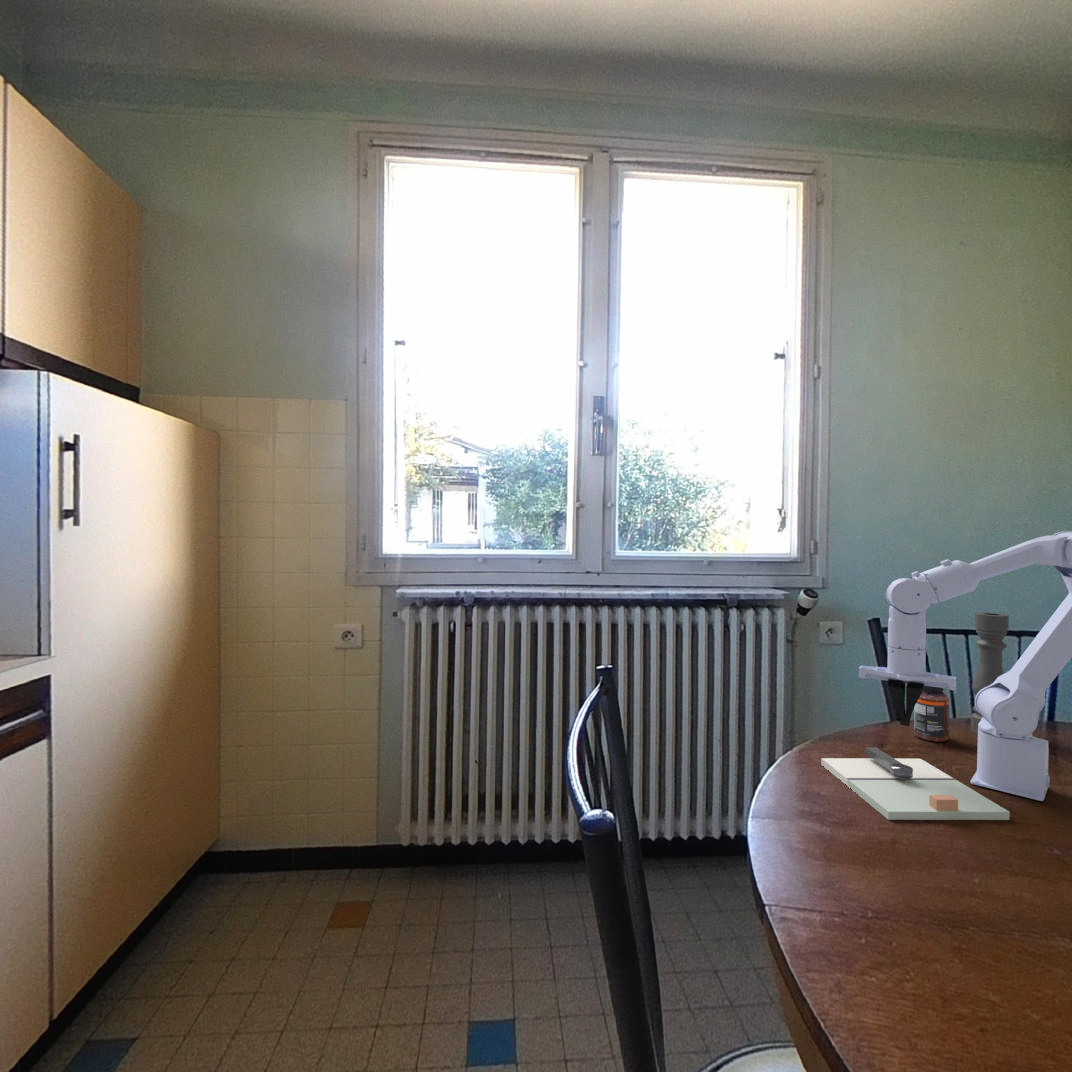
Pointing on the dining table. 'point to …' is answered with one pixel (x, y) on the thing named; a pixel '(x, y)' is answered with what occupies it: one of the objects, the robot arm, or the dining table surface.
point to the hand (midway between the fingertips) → (905, 724)
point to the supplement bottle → (932, 715)
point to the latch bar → (890, 763)
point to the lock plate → (913, 791)
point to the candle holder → (988, 654)
